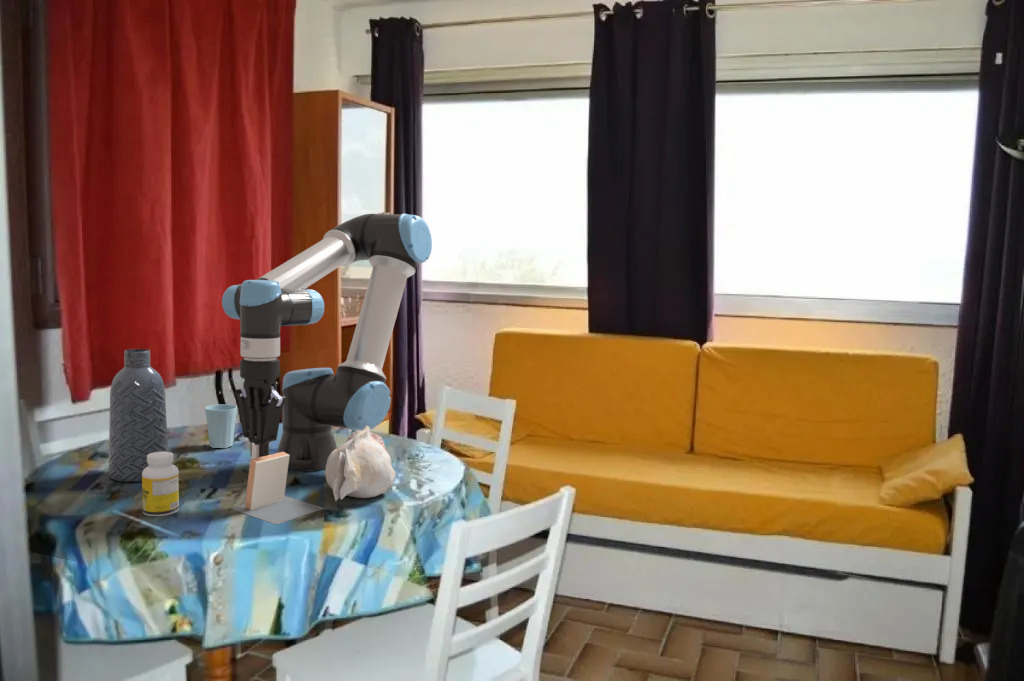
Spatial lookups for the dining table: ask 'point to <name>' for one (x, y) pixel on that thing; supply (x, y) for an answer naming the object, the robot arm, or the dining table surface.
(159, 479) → the pill bottle
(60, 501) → the dining table surface
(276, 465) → the tile
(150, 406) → the vase
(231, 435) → the cup
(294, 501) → the mat
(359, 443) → the white garlic bulb
